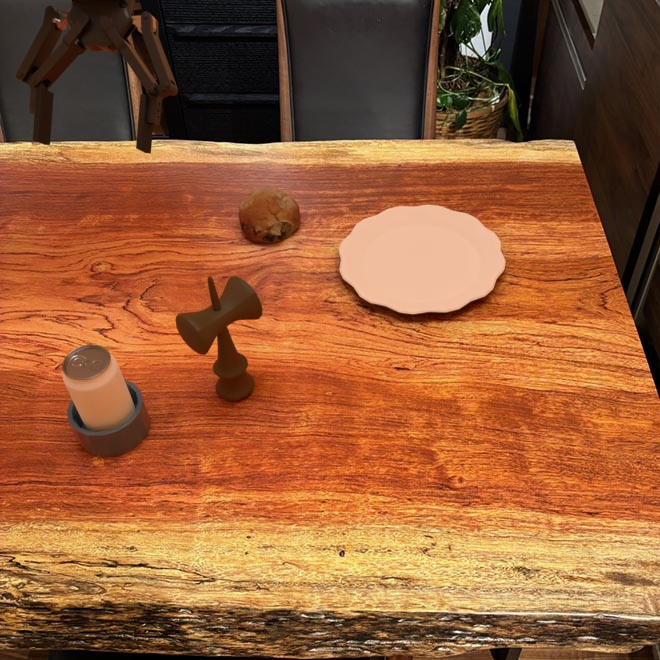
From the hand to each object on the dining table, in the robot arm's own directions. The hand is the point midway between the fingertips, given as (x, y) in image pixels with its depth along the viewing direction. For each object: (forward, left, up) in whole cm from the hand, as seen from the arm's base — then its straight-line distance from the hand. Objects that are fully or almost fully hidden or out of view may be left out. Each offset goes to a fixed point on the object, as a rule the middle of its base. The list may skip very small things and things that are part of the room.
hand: (92, 147), depth 100 cm
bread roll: (+9, +22, -26) cm, 35 cm away
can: (+11, -22, -25) cm, 35 cm away
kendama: (+22, -10, -26) cm, 36 cm away
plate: (+35, +23, -26) cm, 50 cm away
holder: (+11, -22, -26) cm, 36 cm away
